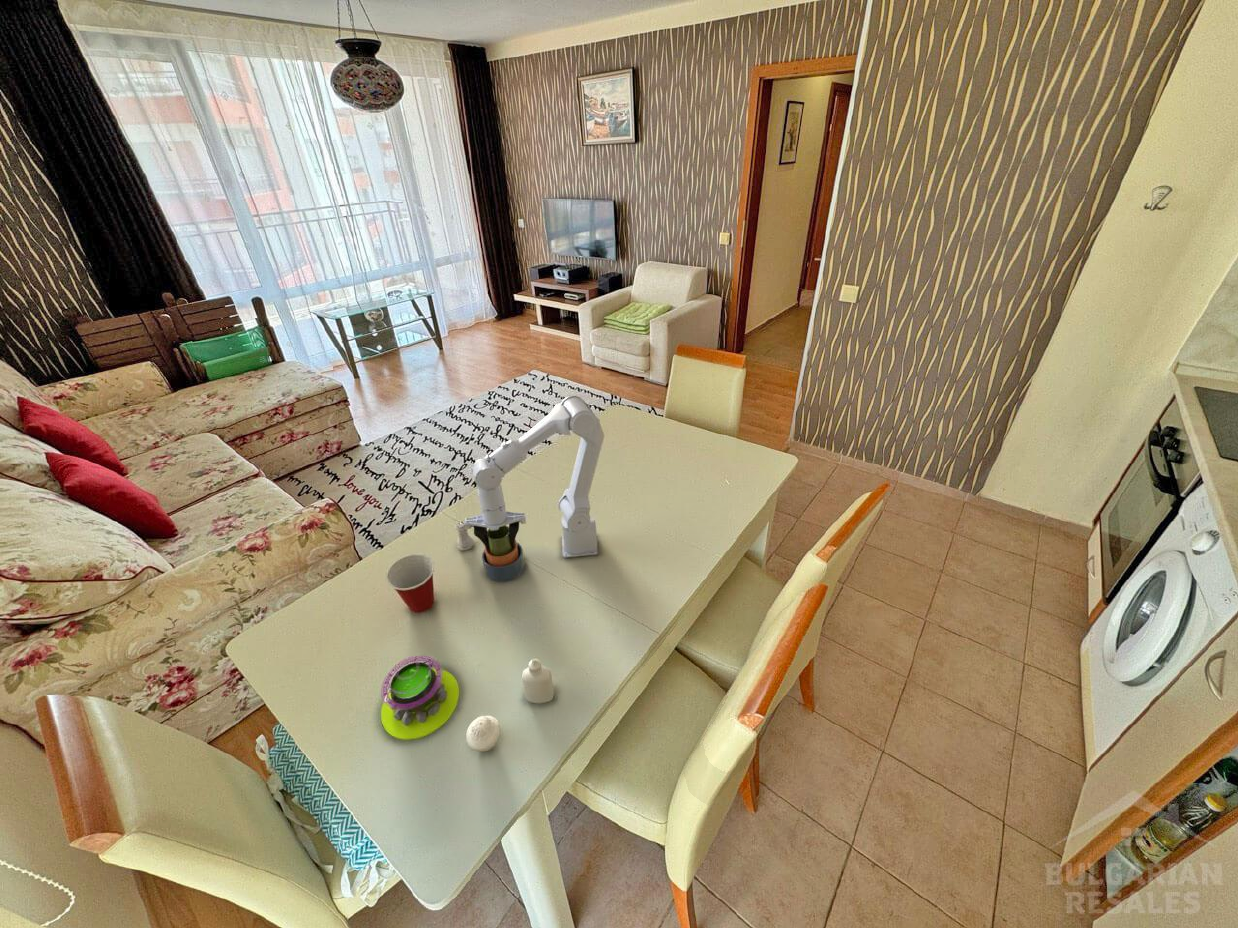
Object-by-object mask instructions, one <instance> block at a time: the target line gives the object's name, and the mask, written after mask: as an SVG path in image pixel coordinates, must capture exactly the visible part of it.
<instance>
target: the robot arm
mask: <svg viewBox="0 0 1238 928" xmlns="http://www.w3.org/2000/svg"><path fill="white" fill-rule="evenodd" d="M570 431H571V432H572V433H573V434H575V435H576V436H578V437H581V438H580V442H579V446H578V450H577V454H576V458H575V463H574V466H573V471H572V474H571V478H570V483H569V487H568V488H566V489H564V492H563V495H562V496H561V497H560V499H559V500H558V502H557V507H558V510H559V511H560V512H561V514H562V517H561V521H560V522H561V523H560V524H561V531H562V532H561V533H562V537H561V544H562V547H561V548H562V558H563V559H564V558H574V557H575V558H576V557H584V556H594V555H598V552H599V551H598V542H599V539H598V538H599V537H598V535H597V524H596V518H593V517H592V518H591V515H590V513H591V504H590V503H591V502H590V498H589V495H590V491H591V488H592V484H593V480H594V476H595V473H596V469H597V465H598V462H599V458H600V454H601V451H602V446H603V442H604V439H605V433H604V431H603V428H602V426H601V423H600V418H599V417H598V416H597V415H596V414H595V413H594V411H593V410H592V409H591V407H590V406H589V405H588V404H587V402H586V401H585V400H583V399H582V398H581V396H578V395H568V396H566V397H565V398H564V399H563V400H562V401H561V402H559V403H557V404H555V405H554V407H553V408H552V409H551V411H550V412H549V413H548V414H547V415H546V416H545V417H543V419H541V420H540V421H539V422H537V424H535V426H533V427H532V428H531V429H529V430H528V431H527V432H526V433H525V434H524V435H523V436H521V437H520V438H519V439H515V438H514V439H513V438H511V439H509V440H508V441H503V442H502V443H501V444H500V447H498V448H497V449H496V450H495V451H493V452H491V453H490V454H488V455H486V456H485V457H481V458H479V459H477V460H476V461H475V462H474V463H473V465H472V468H471V472H472V474H473V477H474V482H475V484H476V489H477V495H478V500H479V506H480V511H481V513H480V514H479V515H474V516H471V517H466V518H465V520H464V522H465V525H466V529H467V530H469V529H472V528H473V535H474V537H476V538H478V539H479V540H480V541H481V543H482V544H483V545H484V548H485V547H486V549H489V544H488V540H487V531H488V529H490V530H491V531H493V530H498V529H499V527H502V526H505V525H506V526H508V527H509V534H510V537H511V545H512V547H515V540H516V537H517V535H518V532H519V530H520V523H521V524H522V525H526V523H527V517H526V512H514V511H507V507H506V502H505V498H504V491H503V487H502V484H501V483H502V482H503V478H505V475H507V474H508V473H509V472H511V471H512V470H514V469H515V468H516V467H518V466H519V465H520V464H522V463H523V462H524V461H525V460H527V457H528V452H530V451H531V450H532V449H534V448H535V447H537V446H538V445H540V444H541V443H543V442H545V441H547V440H548V439H549V438H551V437H552V436H554V435H556V434H558V435H564V436H571V432H570Z"/></svg>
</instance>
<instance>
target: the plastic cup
mask: <svg viewBox="0 0 1238 928" xmlns="http://www.w3.org/2000/svg"><path fill="white" fill-rule="evenodd" d="M434 572H435V561H434V560H433V559H432V557H431V556H429V555H427V554H424V553H417V552H415V553H411V554H406V555H403V556H402V557H400V558H397V559H396V560H395V561H394V562H392V563H391V564H390V565H389V567H388V569H387V570H386V572H385V580H386V583H387V585H388V586H389V587H391V588H392V589H394V590H395V591H396V593H398V596H399V597H400V598H401V599H402V601H403V602H404V604H406V606H407V607H408V609H409V610H410V611H411V612H413V613H415V614H420V613H424V612H426V611H428V610H430V609H431V608H432V606H433V605H434V603H435V602H434V601H435V593H434V590H435V589H434Z"/></svg>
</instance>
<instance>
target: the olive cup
mask: <svg viewBox="0 0 1238 928" xmlns="http://www.w3.org/2000/svg"><path fill="white" fill-rule="evenodd" d="M487 540H488V544H489V549H490V552H491V554H492V555H493V556H497V557H498V556H504V555H507V554H509V553H511V552H512V550H513V547H512V545H511V537H510V534H509V525H505V526H502V527H499V529H498V530H493V531H491V530H490V528H488V529H487Z"/></svg>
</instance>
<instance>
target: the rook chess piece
mask: <svg viewBox="0 0 1238 928" xmlns="http://www.w3.org/2000/svg"><path fill="white" fill-rule="evenodd" d="M454 529H455V530H456V533H457V535H458V538H457V541H456V544H457V548H458V549H459V550H461V551H468V550H470V549H472V548H473V546H474V544H475V543H474V540H473V538H472V537H471V536H470V535H469V533H468V529H466V525H465V521H463V520H460V521H457V523H455V526H454Z"/></svg>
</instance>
